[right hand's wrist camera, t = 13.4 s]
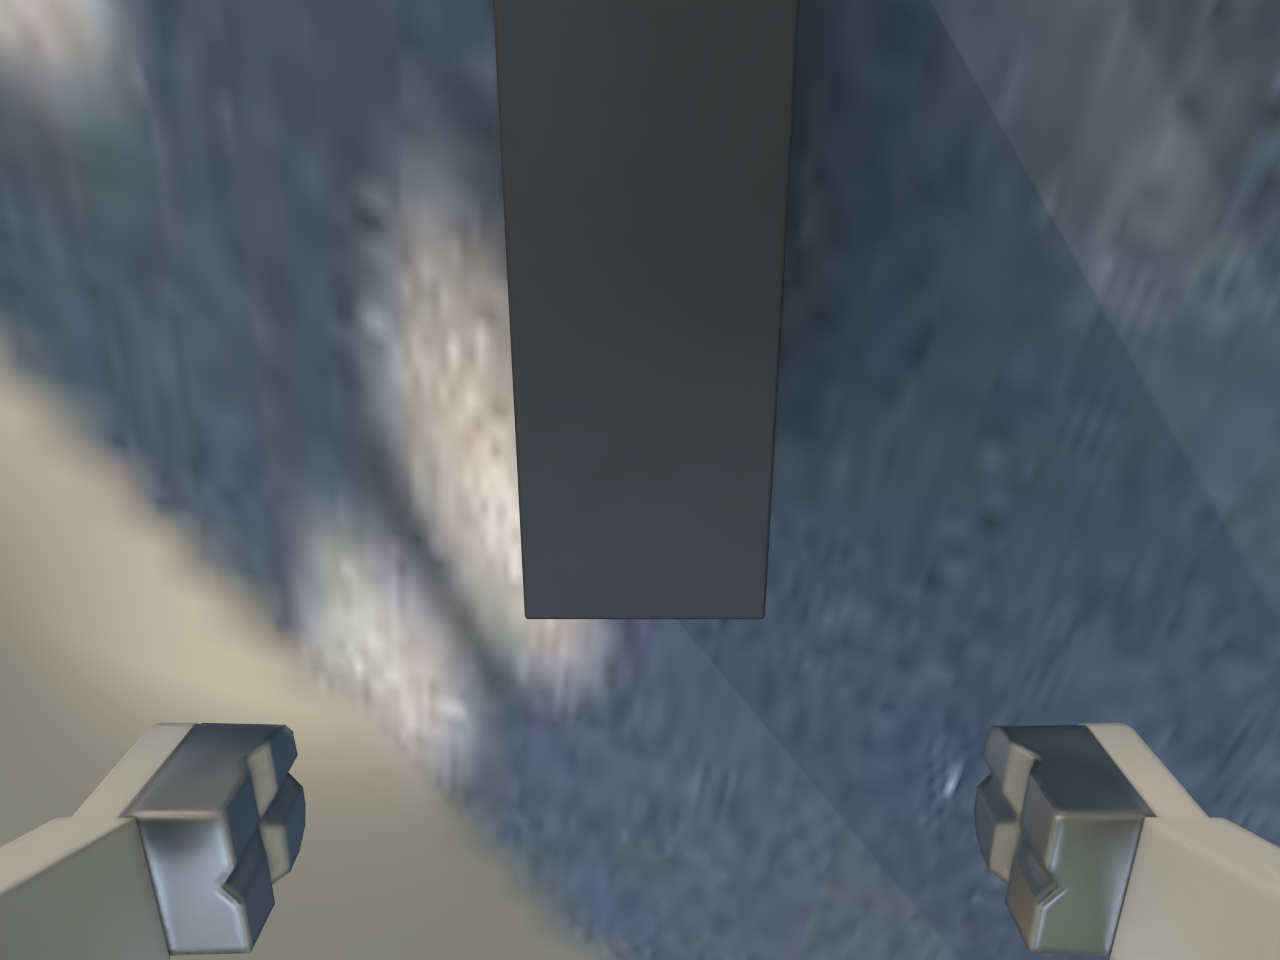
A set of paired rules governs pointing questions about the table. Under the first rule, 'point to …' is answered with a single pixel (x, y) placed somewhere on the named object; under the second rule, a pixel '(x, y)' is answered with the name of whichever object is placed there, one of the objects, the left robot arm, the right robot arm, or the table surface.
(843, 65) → the table surface
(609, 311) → the box
